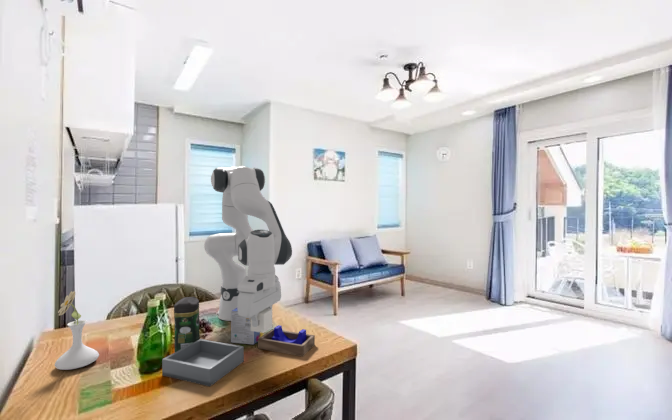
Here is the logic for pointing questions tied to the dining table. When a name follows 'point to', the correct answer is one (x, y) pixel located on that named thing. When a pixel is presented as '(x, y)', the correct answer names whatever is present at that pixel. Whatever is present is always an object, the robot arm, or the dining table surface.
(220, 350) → the tray
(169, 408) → the dining table surface
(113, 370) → the dining table surface
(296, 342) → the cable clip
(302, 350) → the organizer
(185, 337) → the coffee jar
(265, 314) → the block
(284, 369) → the dining table surface
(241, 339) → the ink cartridge box
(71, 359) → the flower in vase
